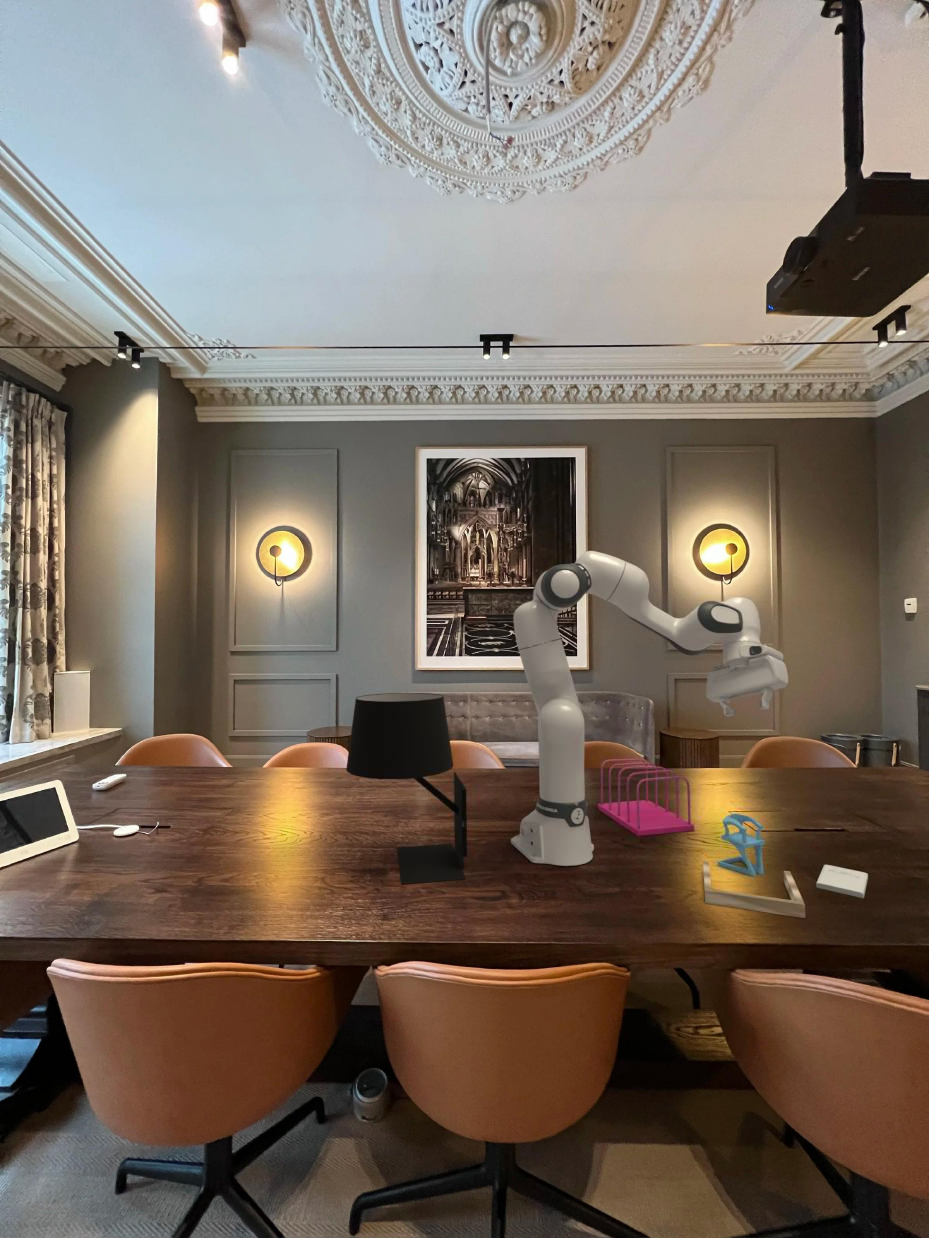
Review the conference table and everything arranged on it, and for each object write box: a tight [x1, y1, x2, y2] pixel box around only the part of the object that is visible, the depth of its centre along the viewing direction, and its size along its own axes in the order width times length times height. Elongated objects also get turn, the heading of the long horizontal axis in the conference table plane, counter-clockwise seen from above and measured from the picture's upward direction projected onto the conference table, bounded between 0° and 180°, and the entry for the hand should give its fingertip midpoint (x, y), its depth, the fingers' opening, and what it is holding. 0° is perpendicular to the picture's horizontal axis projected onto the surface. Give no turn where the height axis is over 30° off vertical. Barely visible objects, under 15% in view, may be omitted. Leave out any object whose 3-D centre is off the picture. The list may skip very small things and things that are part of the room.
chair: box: [717, 813, 766, 878], centre depth 128 cm, size 8×8×12 cm
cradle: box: [702, 860, 806, 919], centre depth 115 cm, size 16×17×2 cm
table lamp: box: [345, 692, 468, 886], centre depth 133 cm, size 26×28×40 cm
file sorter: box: [597, 758, 695, 837], centre depth 164 cm, size 17×25×16 cm
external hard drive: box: [815, 864, 869, 899], centre depth 120 cm, size 2×8×12 cm
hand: (746, 712), depth 132 cm, fingers open, 8 cm apart
